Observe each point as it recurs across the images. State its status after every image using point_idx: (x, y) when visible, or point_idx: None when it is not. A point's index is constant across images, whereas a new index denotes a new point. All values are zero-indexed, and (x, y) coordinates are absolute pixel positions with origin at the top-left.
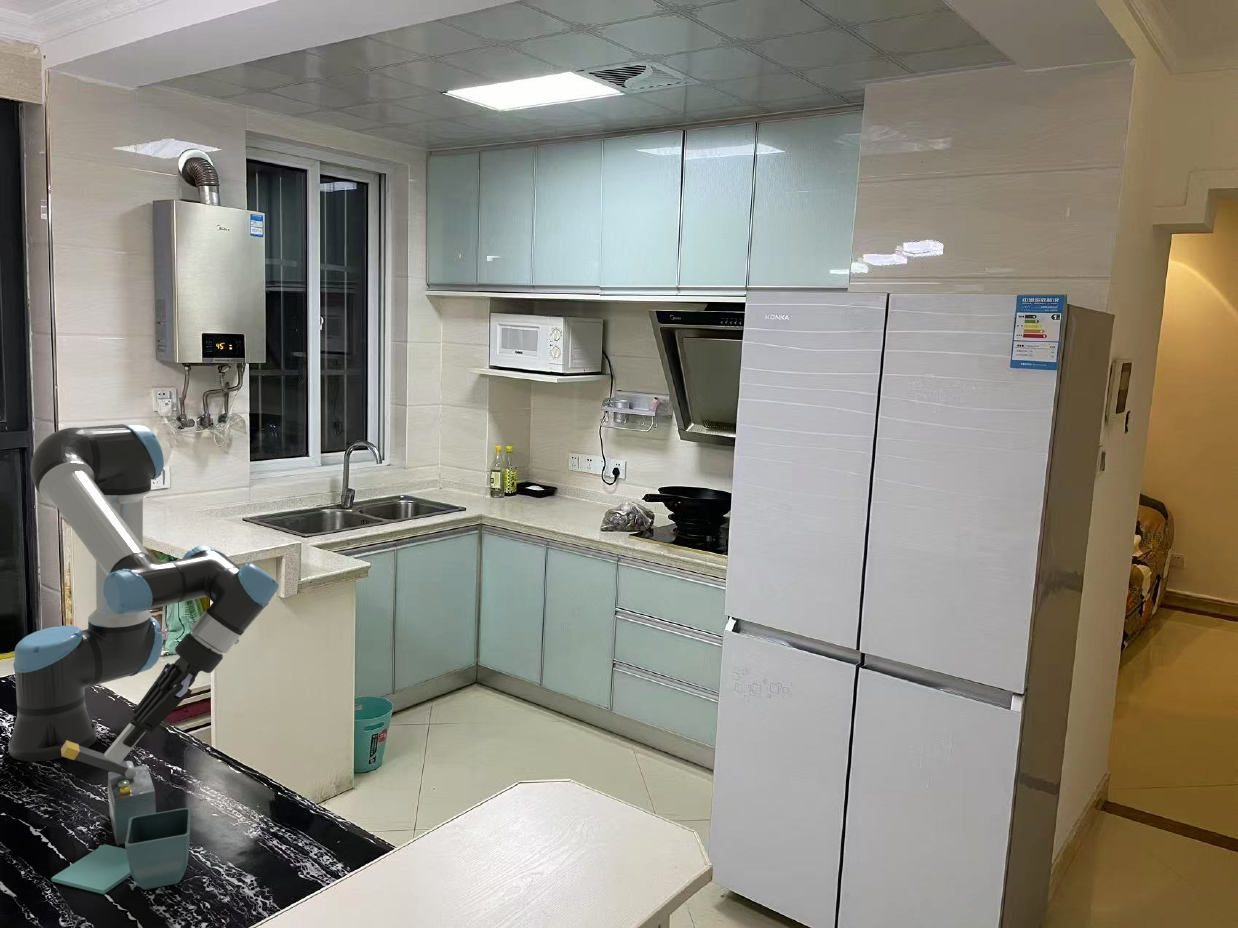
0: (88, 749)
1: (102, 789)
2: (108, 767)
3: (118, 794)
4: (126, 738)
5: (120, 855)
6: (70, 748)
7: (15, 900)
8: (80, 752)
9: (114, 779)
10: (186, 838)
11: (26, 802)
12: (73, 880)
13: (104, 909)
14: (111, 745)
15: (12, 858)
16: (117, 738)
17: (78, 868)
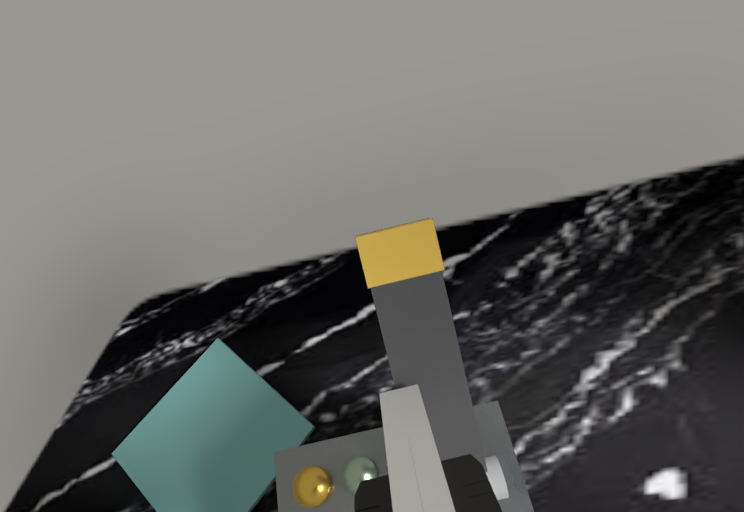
0: (442, 316)
1: (646, 376)
2: None
3: (308, 461)
4: (382, 498)
5: (243, 474)
6: (359, 250)
7: (187, 293)
8: (372, 293)
9: None
10: None
11: (586, 220)
12: (185, 382)
13: (62, 462)
14: (419, 412)
15: (340, 253)
16: (426, 440)
17: (228, 384)
